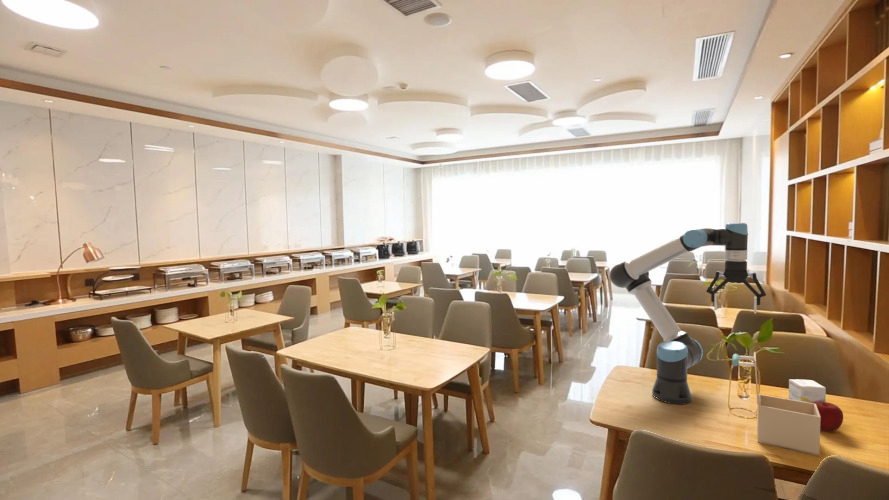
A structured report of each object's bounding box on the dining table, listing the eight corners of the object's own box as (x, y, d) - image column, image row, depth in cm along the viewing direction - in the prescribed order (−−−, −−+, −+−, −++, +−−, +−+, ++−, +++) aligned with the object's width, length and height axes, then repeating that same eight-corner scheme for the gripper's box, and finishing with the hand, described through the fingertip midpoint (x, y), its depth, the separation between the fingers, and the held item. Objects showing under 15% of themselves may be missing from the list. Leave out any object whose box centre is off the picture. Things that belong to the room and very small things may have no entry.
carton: (757, 442, 147) (758, 405, 146) (757, 428, 156) (758, 393, 156) (819, 456, 137) (820, 417, 137) (814, 440, 147) (815, 403, 146)
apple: (831, 424, 158) (832, 398, 157) (849, 437, 149) (850, 409, 148) (802, 422, 160) (802, 396, 160) (818, 434, 151) (819, 407, 150)
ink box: (825, 417, 164) (826, 387, 163) (800, 415, 166) (801, 386, 165) (811, 407, 172) (812, 379, 172) (787, 406, 174) (788, 378, 173)
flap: (758, 404, 146) (734, 401, 150) (758, 393, 155) (735, 390, 160) (755, 360, 146) (731, 358, 150) (755, 352, 155) (732, 350, 159)
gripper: (699, 260, 179) (699, 309, 181) (774, 262, 165) (773, 316, 166) (701, 258, 185) (700, 306, 187) (773, 260, 171) (772, 312, 172)
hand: (734, 311), depth 176 cm, fingers open, 13 cm apart
